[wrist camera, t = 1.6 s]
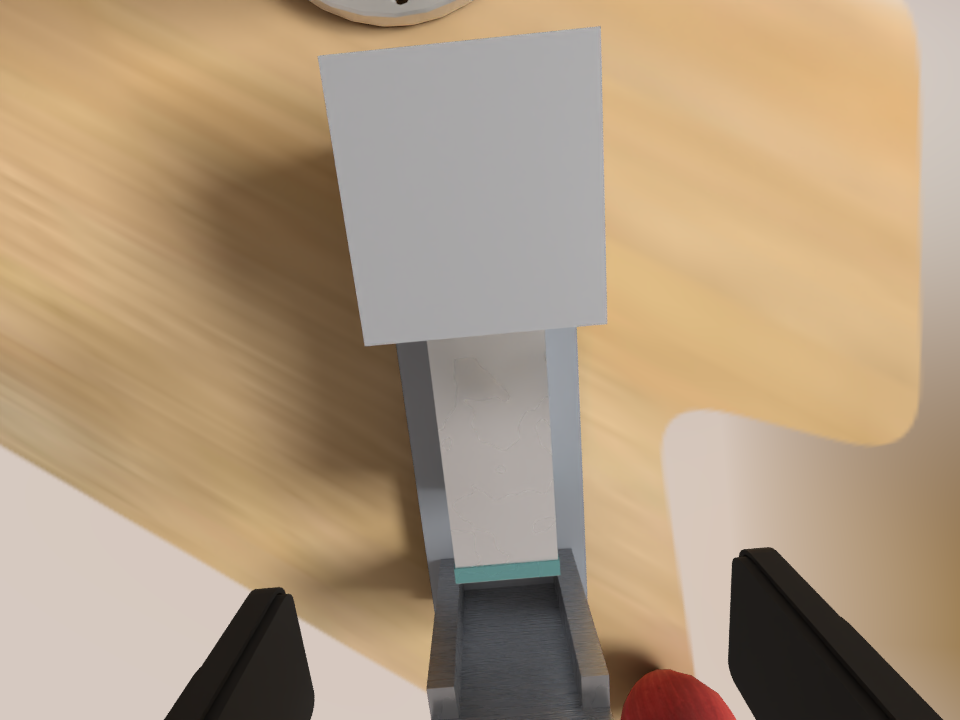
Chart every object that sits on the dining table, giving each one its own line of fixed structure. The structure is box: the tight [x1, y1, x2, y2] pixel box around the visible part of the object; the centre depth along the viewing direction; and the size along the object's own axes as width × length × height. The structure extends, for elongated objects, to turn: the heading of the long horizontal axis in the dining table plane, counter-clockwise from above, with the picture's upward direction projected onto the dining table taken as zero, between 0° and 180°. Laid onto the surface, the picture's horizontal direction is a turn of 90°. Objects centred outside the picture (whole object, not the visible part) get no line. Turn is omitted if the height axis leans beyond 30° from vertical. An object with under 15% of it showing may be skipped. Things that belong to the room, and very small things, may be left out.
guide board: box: [318, 26, 607, 611], centre depth 18 cm, size 24×8×9 cm, turn 5°
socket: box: [427, 548, 614, 720], centre depth 20 cm, size 3×7×8 cm, turn 95°
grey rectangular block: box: [427, 330, 561, 584], centre depth 17 cm, size 16×4×6 cm, turn 5°
